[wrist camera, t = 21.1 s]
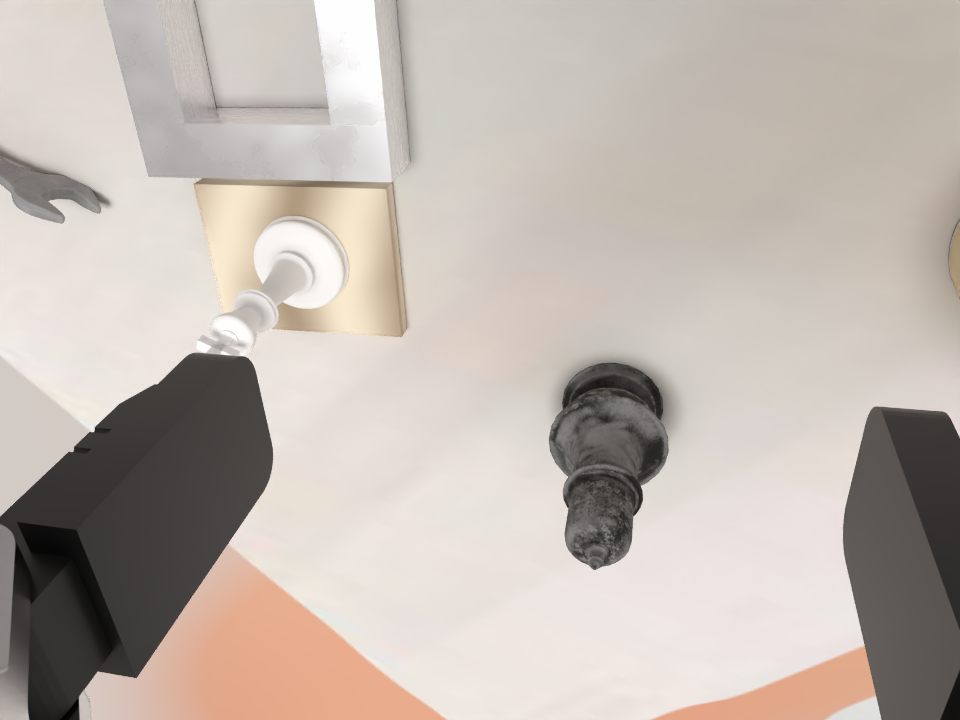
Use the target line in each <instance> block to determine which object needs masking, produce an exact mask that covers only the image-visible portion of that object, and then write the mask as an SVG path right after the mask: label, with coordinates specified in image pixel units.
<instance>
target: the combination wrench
mask: <svg viewBox="0 0 960 720" xmlns="http://www.w3.org/2000/svg"><path fill="white" fill-rule="evenodd" d="M0 184H1V185H2V186H4V187H5V188H6V189H7V190H8V191H10V192H11V194H12V199H13V202H14V204H15V205H16V206H17V207H18V208H19V209H21V210H22V211H24V212H26V213H28V214H30V215H32V216H35V217H38V218H41V219H45V220H49V221H53V222H57V223H63V222H64V220H65V217H64V215H63V214H62V213H61V212H60V211H59V210H58V209H57V208H55V207H54V206H53V205H52V204H51V203H49V202H48V201H49V200H55V199H70V200H73V201H75V202H77V203H78V204H80V205H81V206H83V207H85V208H87V209H89V210H91V211H93V212H95V213H100V211H101V207H100V204H99V202H98V200H97V198H96V196H95V194H94V193H93V191H92V190H91V188H90V187H88V186H86V185H83V184H81V183H79V182H77V181H75V180H72V179H70V178H68V177H66V176H62V175H57V174H43V173H40V172H36V171H32V170H29V169H25V168H22V167H18V166H16V165H14V164H11V163H9V162H7V161H5V160H3V159H1V158H0Z"/></svg>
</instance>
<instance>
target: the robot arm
mask: <svg viewBox="0 0 960 720" xmlns="http://www.w3.org/2000/svg"><path fill="white" fill-rule="evenodd" d="M272 463H273V448H272V442H271V438H270V433H269V429H268V424H267V420H266V415H265V411H264V407H263V402H262V398H261V393H260V389H259V384H258V380H257V375H256V371H255V368H254V366H253V364H252V362H251V361H250V360H249V359H248V358H246V357H244V356H233V355H220V354H207V353H192V354H189V355H188V356H187V357H185V358H184V359H183V360H182V361H181V362H180V363H179V364H178V365H177V366H176V367H175V368H174V369H173V370H172V371H171V372H170V373H169V374H168V375H167V376H166V377H165V378H164V379H163V380H162V381H161V382H160V383H159V384H157V385H156V384H155V385H153V386H151V387H149V388H147V389H145V390H144V391H142V392H140V393H138V394H136V395H135V396H133V397H131V398H129V399H127V400H126V401H124V402H122V403H120V404H119V405H118V406H117V407H116V408H115V409H114V410H113V411H112V412H111V413H109V414H108V415H107V416H106V417H105V418H104V419H103V420H102V421H101V422H100V423H99V424H98V425H97V426H96V427H95V431H94V433H93V432H89V433H88V434H87V435H86V436H85V437H84V438H83V439H82V440H81V441H80V442H79V443H78V444H77V445H76V446H75V447H74V452H68V453H67V454H66V455H65V456H64V457H63V458H62V459H61V460H60V461H59V462H58V463H56V464H55V465H54V467H52V468H51V469H50V470H49V471H48V472H47V473H46V474H45V475H44V476H43V477H42V478H41V479H40V480H39V481H37V482H36V483H35V484H34V485H33V486H32V487H31V488H30V489H29V490H28V491H27V492H26V493H25V494H24V495H23V496H22V497H21V498H19V499H18V500H17V501H16V502H15V503H14V504H13V505H12V506H11V507H10V508H9V509H8V510H7V511H6V512H5V513H4V514H3V515H2V516H1V517H0V720H91V706H90V700H89V698H88V696H87V694H86V692H85V690H84V689H85V688H86V686H87V685H88V684H89V682H90V681H91V680H92V678H93V677H94V675H95V674H96V673H97V671H99V672H105V673H111V674H116V675H122V676H128V677H134V678H137V677H138V675H139V674H140V672H141V671H142V669H143V668H144V666H145V665H146V663H147V662H148V660H149V659H150V658H151V656H152V654H153V653H154V652H155V650H156V649H157V647H158V646H159V644H160V643H161V641H162V640H163V638H164V637H165V635H166V634H167V632H168V631H169V630H170V628H171V627H172V625H173V624H174V622H175V621H176V619H177V618H178V616H179V615H180V613H181V612H182V610H183V609H184V607H185V606H186V605H187V603H188V602H189V600H190V599H191V597H192V595H193V594H194V593H195V591H196V590H197V588H198V587H199V585H200V584H201V582H202V581H203V579H204V578H205V576H206V575H207V574H208V572H209V571H210V569H211V568H212V566H213V565H214V563H215V562H216V561H217V559H218V558H219V556H220V554H221V553H222V551H223V550H224V549H225V547H226V546H227V544H228V543H229V541H230V540H231V538H232V537H233V536H234V534H235V533H236V531H237V530H238V528H239V527H240V525H241V524H242V522H243V521H244V519H245V518H246V516H247V515H248V513H249V512H250V511H251V509H252V508H253V506H254V505H255V503H256V502H257V500H258V499H259V497H260V496H261V494H262V493H263V491H264V490H265V488H266V486H267V484H268V481H269V478H270V474H271V470H272ZM843 545H844V555H845V560H846V565H847V569H848V574H849V578H850V582H851V587H852V591H853V596H854V600H855V604H856V609H857V613H858V618H859V622H860V626H861V631H862V635H863V640H864V644H865V648H866V652H867V657H868V662H869V666H870V670H871V675H872V679H873V684H874V688H875V692H876V697H877V701H878V706H879V710H880V714H881V719H882V720H960V438H959V436H958V434H957V431H956V429H955V427H954V425H953V423H952V421H951V419H950V417H949V416H948V415H947V414H946V413H945V412H940V411H927V410H914V409H901V408H888V407H874V408H873V409H872V410H871V411H870V413H869V415H868V418H867V421H866V425H865V429H864V433H863V437H862V441H861V445H860V449H859V454H858V458H857V462H856V466H855V470H854V474H853V478H852V482H851V487H850V491H849V495H848V499H847V503H846V508H845V514H844V524H843Z"/></svg>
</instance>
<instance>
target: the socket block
mask: <svg viewBox="0 0 960 720" xmlns="http://www.w3.org/2000/svg"><path fill="white" fill-rule="evenodd" d="M103 2H104V6H105V10H106V14H107V17H108V21H109V25H110V29H111V33H112V37H113V41H114V45H115V48H116V52H117V56H118V60H119V64H120V68H121V72H122V76H123V79H124V83H125V87H126V91H127V95H128V99H129V103H130V107H131V110H132V114H133V118H134V122H135V126H136V130H137V134H138V138H139V141H140V145H141V149H142V153H143V157H144V161H145V165H146V169H147V172H148V176H149V177H181V178H224V179H266V180H309V181H351V182H393V181H394V180H395V179H396V177H397V176H398V175H399V174H400V173H401V172H402V171H403V170H404V169H405V168H406V166H407V165H408V164H409V163H410V153H409V142H408V130H407V119H406V108H405V96H404V85H403V74H402V62H401V51H400V40H399V28H398V17H397V6H396V0H314V3H315V11H316V18H317V25H318V33H319V40H320V47H321V55H322V62H323V70H324V77H325V84H326V92H327V99H328V106H329V108H216V105H215V100H214V95H213V90H212V85H211V80H210V75H209V70H208V66H207V61H206V56H205V51H204V46H203V41H202V36H201V31H200V27H199V22H198V17H197V12H196V7H195V2H194V0H103Z"/></svg>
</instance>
